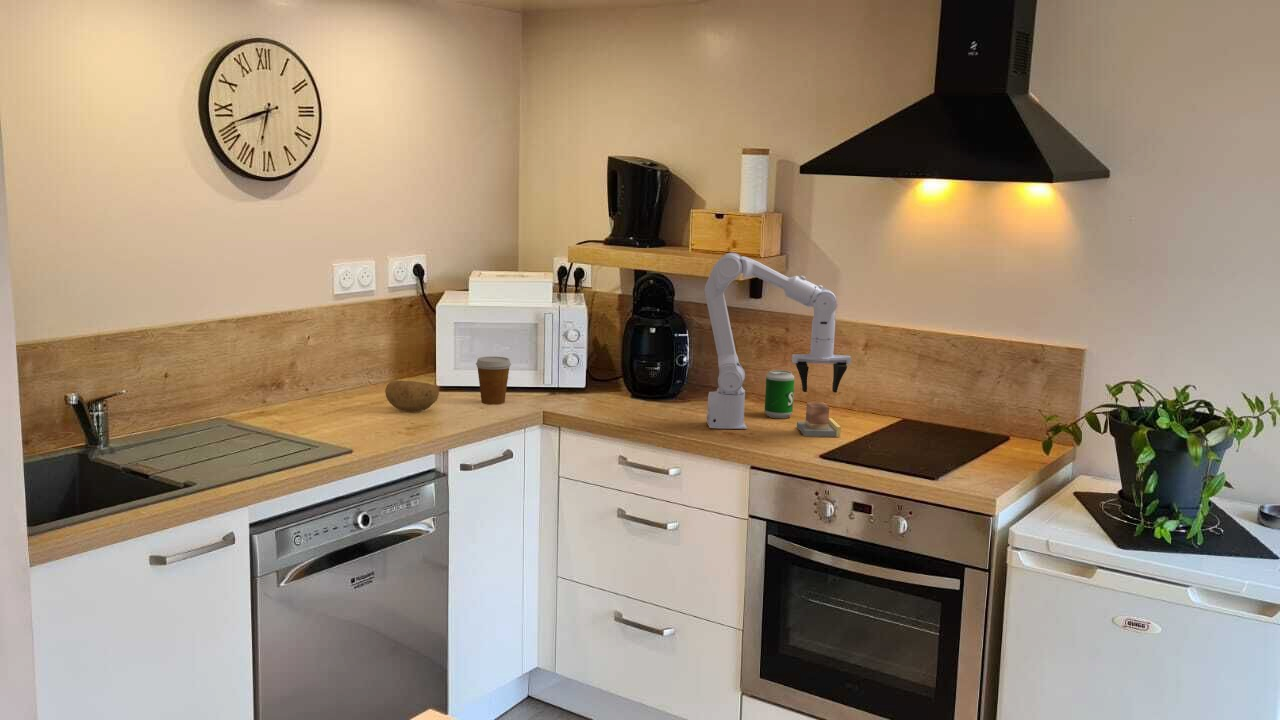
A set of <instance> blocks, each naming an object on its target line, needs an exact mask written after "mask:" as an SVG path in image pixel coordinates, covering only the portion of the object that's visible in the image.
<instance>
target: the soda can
mask: <svg viewBox="0 0 1280 720" xmlns="http://www.w3.org/2000/svg"><path fill="white" fill-rule="evenodd" d="M794 388H795V375H793V373H792V371H789V370H783V369H782V370H781V369H780V370H778V369H776V370H775V369H773V370H770V371H769V372H768V373H767V374H766V376H765V395H764V413H765V414H766V416H767V417H768V416H769V418H771V419H788V418H790V416H791V415H793V409H794V407H793V406H794V392H795V391H794V390H795V389H794Z"/></svg>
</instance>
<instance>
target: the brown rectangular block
mask: <svg viewBox="0 0 1280 720" xmlns="http://www.w3.org/2000/svg"><path fill="white" fill-rule="evenodd" d="M805 412H806V413H805V419H804V420H805V421H804V422H805V424H806V425H807V426H808V427H809V428H810V429H827V430H828V426H829V425H828V419H829V418H830V417H829V415H830V407H829V406H828V404H826V403H825V402H818V401H817V402H815V401H814V402H811V401H808V402H806V409H805Z"/></svg>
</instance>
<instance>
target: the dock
mask: <svg viewBox="0 0 1280 720" xmlns="http://www.w3.org/2000/svg"><path fill="white" fill-rule="evenodd" d="M828 425H829V426H828V430H827V429H810V428H809V427H808V426H807V425H806V424H805V421H796V428H797V429H798V431H799V430H800V431H801V432H800V431H799V432H800V433H801V434H802V435H803V436H804V437H807V436H809V437H810V436H811V437H813V438H816V437H817V438H818V437H819V438H822V437H823V438H841V432H842V431H841V429H842V428H841V427H842V426H841V425H840V424H838V423H837V422H836V421H835V420H834V418H832V417H829V419H828Z"/></svg>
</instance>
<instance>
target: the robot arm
mask: <svg viewBox="0 0 1280 720" xmlns="http://www.w3.org/2000/svg"><path fill="white" fill-rule="evenodd" d="M741 274H742V278H752V277H756V278H758V279H759V280H763V281H764V282H767V283H769V284H771V285H773V286H776V287H778V288H779V289H783V291H784V295H785V297H786V298H789V299H791V300H794V301H795V302H797V303H799V304H802V305H803V306H805V307H808V308H810V307H812V308H813V318H812V321H811V335H810V336H811V337H810V353H806V354H805V353H804V354H803V353H802V354H798V353H797V354H794V353H793V354H792V355H791V363H792V364H795V366H796V369H797V371H798V375H799V377H800V381H801V387H802V392H803V393H807V392H808V391H807V390H808V374H809V368H810V367H809V366H808V364H833V365H832V367H833V370H832V371H833V378H832V379H833V380H832V386H831V387H832V392H833V393H835V394H836V393H838V388H839V386H840V383H841V380H842V378H843V376H844V374H845V373H846V372H847V370H848V365H851V364H852V356H850V355H843V354H842V355H841V354H834V349H835V335H836V334H835V333H836V320H835V319H836V309H837V307H838V303H837V297H836V295H835V293H833V291H831V290H830V289H828V288H824V286H823V285H821V284H819V285H816V283H813V282H810V281H808V280H806V276H804V275H800V276H798V275H794V276H791V277H788V276H786V275H785V274H782V273H780V272H779V271H777V270H774V269H772V268H771V267H769V266H768V265H765V264H764V263H761V262H759V261H757V260H756V259H752V258H750V257H748V256H743V255H742V256H741V255H740V254H738V253H736V252H728V253H726V254H724V255H723V256H722V257H720V258H719V259H718V260H717V261H716V263H714V265H713V266H712V268H711V272H710V273H709V276H708V279H707V281H706V283H705V285H704V295H705V296H704V297H705V299H706V300H705V301H706V305H707V310H708V315H709V320H710V325H711V329H712V334H713V339H714V340H713V341H714V343H715V349H716V354H717V360H718V363H717V364H718V366H717V367H718V372H719V374H718V377H717V384H718V387H717V388H716V390H715V391H709V392H708V396H707V410H706V411H707V412H706V424H707V425H708V427H709V428H710V429H721V430H722V429H726V430H727V429H731V430H732V429H733V430H734V429H735V430H747V429H748V427H747V425H746V423H745V422H744V420H745V403H746V401H745V399H746V390H745V389H744V387H743V384H744V381H745V379H746V373H745V370H744V368H743V366H742V365H741V364H740V362H739V361H740V360H739V357H738V354H737V352H736V346H735V341H734V336H733V331H732V327H731V322H730V316H729V311H728V306H727V302H726V296H725V291H726V290H727V288H728V287H729V285H731V283H732V282H733V281H735V280H736V279H737V278H739V276H740V275H741Z"/></svg>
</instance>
